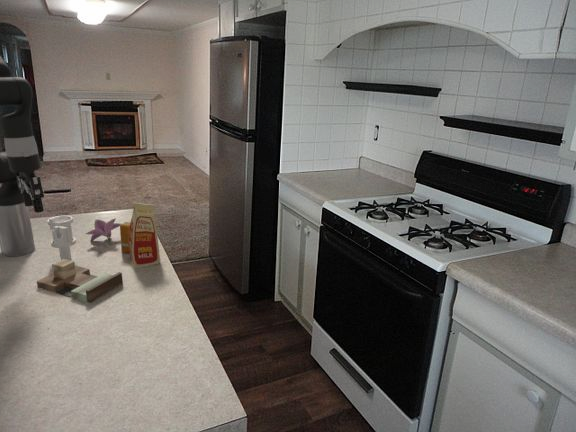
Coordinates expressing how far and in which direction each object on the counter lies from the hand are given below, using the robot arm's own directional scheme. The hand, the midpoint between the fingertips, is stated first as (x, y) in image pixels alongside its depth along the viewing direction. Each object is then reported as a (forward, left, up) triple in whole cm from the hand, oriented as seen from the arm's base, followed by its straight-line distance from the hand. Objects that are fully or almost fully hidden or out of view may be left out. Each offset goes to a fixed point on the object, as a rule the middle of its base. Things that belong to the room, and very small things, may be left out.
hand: (34, 208), depth 123 cm
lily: (-2, +26, -20) cm, 33 cm away
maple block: (+11, -2, -18) cm, 21 cm away
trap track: (+17, -2, -20) cm, 26 cm away
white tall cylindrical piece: (-2, +9, -20) cm, 22 cm away
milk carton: (+21, +20, -20) cm, 36 cm away
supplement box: (+11, +23, -20) cm, 33 cm away
